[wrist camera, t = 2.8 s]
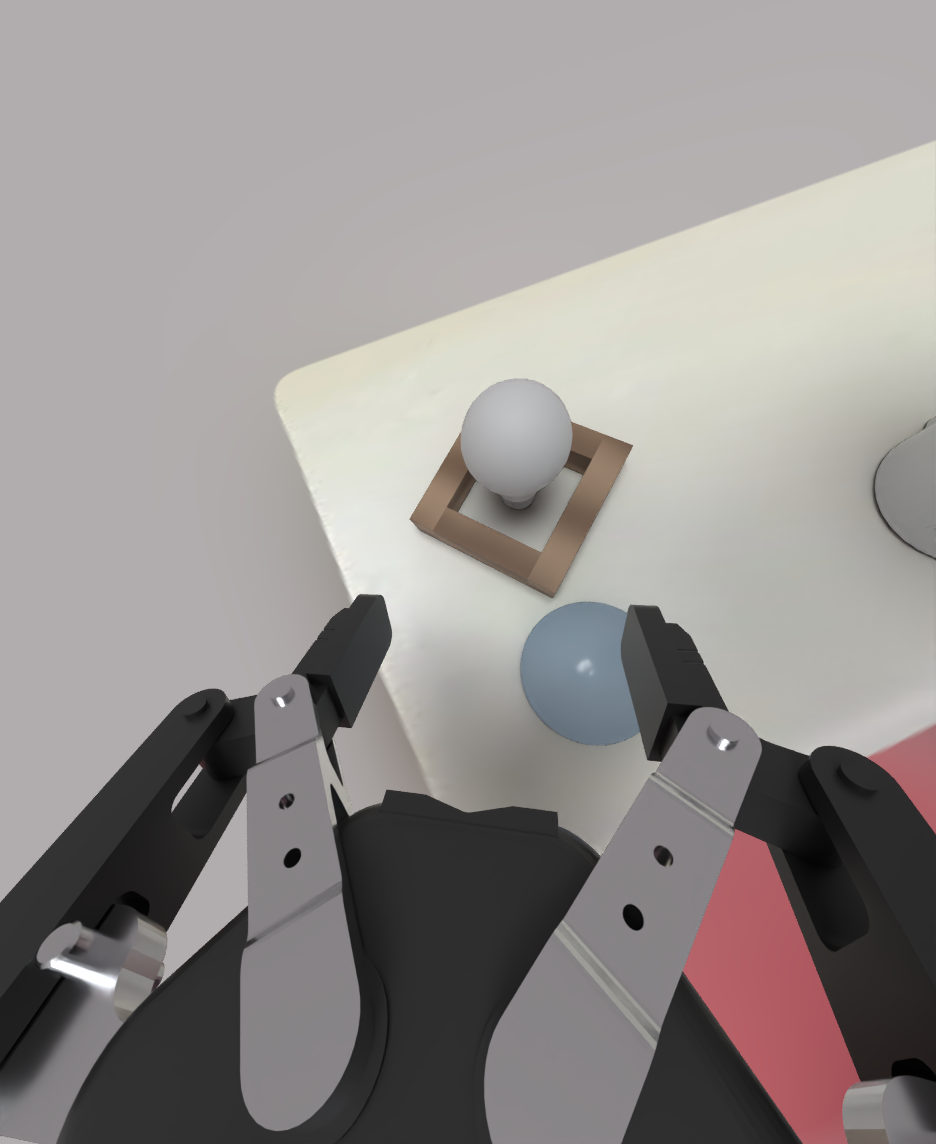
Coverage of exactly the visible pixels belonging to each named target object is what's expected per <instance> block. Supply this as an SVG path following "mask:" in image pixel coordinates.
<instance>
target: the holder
mask: <svg viewBox="0 0 936 1144" xmlns="http://www.w3.org/2000/svg"><path fill="white" fill-rule="evenodd" d="M571 426H572V434H573V436H572V445H571V450H570V453H569V456H568V459H567V462H566V463H565V465H564V467H567V468H569V469H572V470H574V471H576V472H579V473H581V474H584V475H583V477H582V479H581V481H580V483H579V485H578V486H577V488H576V490H575V492H574V494H573V496H572V498H571V499H570V501H569V503H568V505H567V507H566V509H565V511H564V512H563V514H562V516H561V518H560V520H559V522H558V524H557V525H556V527H555V529H554V531H553V533H552V535H551V537H550V538H549V540H548V542H547V544H546V546H545V548H544V550H543V551H542V553H541V552H539V551H537V550H535V549H532V548H530V547H528V546H526V545H524V544H522V543H520V542H518V541H516V540H514V539H512V538H510V537H508V536H506V535H504V534H501V533H499V532H497V531H495V530H493V529H491V528H489V527H487V526H485V525H483V524H481V523H479V522H477V521H475V520H473V519H470V518H468V517H466V516H464V515H462V514H460V513H458V510H459V509H460V507H461V505H462V503H463V502H464V500H465V498H466V496H467V495H468V493H469V491H470V489H471V488H472V486H473V484H474V482H475V481H476V479H475V478H474V477H473V476H472V474H471V473H470V472H469V470H468V468H467V466H466V464H465V462H464V458H463V455H462V451H461V433H460V434H459V436H458V438H457V439H456V441H455V443H454V445H453V446H452V448H451V450H450V451H449V453H448V455H447V456H446V458H445V460H444V462H443V463H442V465H441V467H440V468H439V470H438V472H437V473H436V475H435V477H434V479H433V480H432V482H431V484H430V485H429V487H428V489H427V490H426V492H425V494H424V495H423V497H422V499H421V501H420V502H419V504H418V506H417V507H416V509H415V511H414V512H413V514H412V516H411V518H410V520H411V521H412V522H413V523H414V524H415V526H416V527H417V528H418V529H419V530H420V531H422V532H424V533H426V534H428V535H430V536H432V537H434V538H436V539H438V540H440V541H442V542H444V543H446V544H448V545H450V546H452V547H454V548H456V549H457V550H459V551H461V552H463V553H465V554H467V555H469V556H471V557H473V558H475V559H477V560H479V561H481V562H483V563H485V564H487V565H489V566H491V567H493V568H495V569H496V570H498V571H500V572H502V573H504V574H506V575H508V576H510V577H512V578H514V579H516V580H518V581H520V582H522V583H524V584H526V585H528V586H530V587H532V588H534V589H535V590H537V591H539V592H541V593H543V594H545V595H547V596H549V597H551V598H553V597H554V595H555V593H556V591H557V590H558V588H559V586H560V584H561V582H562V580H563V578H564V576H565V574H566V573H567V571H568V569H569V567H570V565H571V563H572V561H573V559H574V557H575V555H576V554H577V552H578V550H579V548H580V546H581V544H582V542H583V540H584V538H585V536H586V535H587V533H588V531H589V529H590V527H591V525H592V523H593V521H594V519H595V517H596V516H597V514H598V512H599V510H600V508H601V506H602V504H603V502H604V500H605V498H606V497H607V495H608V493H609V491H610V489H611V487H612V485H613V483H614V481H615V479H616V478H617V476H618V474H619V472H620V470H621V468H622V466H623V464H624V462H625V460H626V458H627V457H628V455H629V453H630V451H631V449H632V447H633V445H631V444H628V443H625V442H623V441H620V440H617V439H615V438H612V437H610V436H607V435H604V434H602V433H599V432H596V431H594V430H591V429H589V428H586V427H583V426H581V425H578V424H575V423H573V422H571Z"/></svg>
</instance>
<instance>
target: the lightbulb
mask: <svg viewBox="0 0 936 1144" xmlns="http://www.w3.org/2000/svg"><path fill="white" fill-rule="evenodd" d="M572 436H573V434H572V426H571V420H570V417H569V414H568V411H567V409H566V407H565V405H564V404H563V402H562V400H561V399H560V397H559V396H558V395H557V394H555V393H554V392H553V391H552V390H551V389H549V388H548V387H546V386H545V385H543V384H541V383H539V382H536V381H534V380H528V379H510V380H505V381H502V382H499V383H496V384H494V385H493V386H491V387H489V388H488V389H486V390H485V391H484V392H482V393H481V394H480V395H479V396H478V398H477V399H476V400H475V401H474V402H473V403H472V405H471V406H470V408H469V409H468V411H467V413H466V416H465V419H464V422H463V425H462V431H461V451H462V455H463V458H464V462H465V464H466V466H467V468H468V470H469V472H470V473H471V474H472V476H473V477H474V478H475V479H476V480H477V481H478V482H479V483H480V484H481V485H482V486H484V487H485V488H486V489H488V490H490V491H492V492H494V493H497V494H500V495H501V496H502V498H503V501H504V503H505V504H506V505H507V506H509V507H511V508H513V509H523V508H526V507H528V506H529V505H530V504H531V503H532V502H533V500H534V498H535V495H536V493H537V491H538V490H540V489H542V488H544V487H545V486H547V485H548V484H549V483H550V482H552V481H553V480H554V478H555V477H556V476H557V475H558V474H559V473H560V471H561V470H562V468H563V467H564V465H565V463H566V462H567V459H568V456H569V453H570V450H571V445H572Z"/></svg>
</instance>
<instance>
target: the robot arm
mask: <svg viewBox="0 0 936 1144" xmlns="http://www.w3.org/2000/svg"><path fill="white" fill-rule="evenodd" d="M875 493H876V500H877V503H878V505H879V508H880V511H881V513H882V515H883V516H884V518H885V519H886V521H887V522H888V524H889V525H890V527H891V528H892V529H893V530H894V531H895V532H896V533H897V534H898V535H899V536H900V537H901V538H902V539H903V540H905V541H906V542H908V543H909V544H910V545H912V546H913V547H915V548H916V549H918V550H920V551H922V552H924V553H926V554H928V555H930V556H932V557H934V558H936V417H934V418H932V419H931V420H929V421H928V423H927V425H926V428H925V429H924V430H922V431H921V432H919V433H917V434H915V435H913V436H912V437H910V438H908V439H906V440H904V441H903V442H901V443H900V444H899V445H897V446H896V447H895V448H893V449H892V450H891V451H890V452H889V453H888V454H887V456H886V457H885V458H884V459H883V460H882V462H881V465H880V467H879V469H878V471H877V474H876V481H875ZM391 638H392V629H391V625H390V621H389V617H388V613H387V609H386V605H385V601H384V598H383V596H382V595H368V594H360V595H358V596H357V597H356V599H355V600H354V602H353V603H352V605H351V606H350V608H344V609H343V610H341V611H340V612H338V613H337V614H336V615H335V616H333V617H332V618H331V619H330V621H329V622H328V624H327V625H326V626H325V628H324V631H322V632H321V633H320V635H319V636H318V638H317V640H316V641H315V642H314V643H313V645H312V646H311V647H310V649H309V650H308V652H307V653H306V654H305V656H304V657H303V659H302V660H301V662H300V663H299V664H298V666H297V667H296V668H295V670H294V671H293V673H292V674H290V675H285V676H282V677H279V678H277V679H275V680H273V681H271V682H270V683H269V684H267V685H266V686H265V687H264V688H263V689H262V690H261V691H260V692H259V693H258V695H254V696H249V697H244V698H239V699H234V700H229V699H228V698H227V696H226V695H225V693H224V692H223V691H222V690H219V689H206V690H203V691H200V692H197V693H195V694H193V695H191V696H189V697H188V698H186V699H184V700H183V701H182V702H180V703H179V704H178V705H177V706H176V707H175V708H174V709H173V710H172V711H171V712H170V713H169V714H168V716H167V717H166V718H165V719H164V720H163V721H162V722H161V724H160V725H159V726H158V727H157V728H156V729H155V730H154V731H153V732H152V734H151V735H150V736H149V737H148V738H147V739H146V740H145V741H144V742H143V744H142V745H141V746H140V747H139V748H138V749H137V750H136V751H135V753H134V754H133V755H132V756H131V757H130V758H129V759H128V760H127V761H126V763H125V764H124V765H123V766H122V767H121V768H120V769H119V771H118V772H117V773H116V774H115V775H114V776H113V777H112V778H111V780H110V781H109V782H108V783H107V784H106V785H105V786H104V787H103V788H102V790H100V792H99V793H98V794H97V795H96V796H95V797H94V798H93V800H92V801H91V802H90V803H89V804H88V805H87V806H86V807H85V809H84V810H83V811H82V812H81V813H80V814H79V815H78V816H77V817H76V819H75V820H74V821H73V822H72V823H71V824H70V825H69V826H68V827H67V829H66V830H65V831H64V832H63V833H62V834H61V835H60V836H59V837H58V839H57V840H56V841H55V842H54V843H53V844H52V845H51V847H50V848H49V849H48V850H47V851H46V852H45V853H44V854H43V855H42V857H41V858H40V859H39V860H38V861H37V862H36V863H35V864H34V865H33V867H32V868H31V869H30V870H29V871H28V872H27V873H26V874H25V876H24V877H23V878H22V879H21V880H20V881H19V882H18V883H17V884H16V886H15V887H14V888H13V889H12V890H11V891H10V892H9V893H8V894H7V896H6V897H5V898H4V899H3V900H2V901H1V903H0V1136H5V1137H10V1138H15V1139H19V1140H24V1141H29V1142H34V1143H39V1144H803V1143H802V1142H801V1140H800V1139H799V1138H798V1136H797V1135H796V1133H795V1132H794V1130H793V1129H792V1127H791V1126H790V1125H789V1123H788V1122H787V1120H786V1119H785V1117H784V1116H783V1114H782V1113H781V1112H780V1110H779V1109H778V1107H777V1106H776V1105H775V1103H774V1102H773V1100H772V1099H771V1097H770V1096H769V1094H768V1093H767V1092H766V1090H765V1089H764V1088H763V1086H762V1084H761V1083H760V1082H759V1080H758V1079H757V1077H756V1076H755V1074H754V1073H753V1072H752V1070H751V1069H750V1067H749V1066H748V1064H747V1063H746V1061H745V1060H744V1059H743V1057H742V1056H741V1055H740V1053H739V1051H738V1050H737V1049H736V1047H735V1046H734V1044H733V1043H732V1041H731V1040H730V1039H729V1037H728V1036H727V1034H726V1033H725V1031H724V1030H723V1029H722V1027H721V1026H720V1025H719V1023H718V1021H717V1020H716V1018H715V1017H714V1016H713V1014H712V1013H711V1011H710V1010H709V1008H708V1007H707V1006H706V1004H705V1003H704V1002H703V1000H702V998H701V997H700V996H699V994H698V993H697V991H696V990H695V989H694V987H693V986H692V984H691V983H690V981H689V980H688V979H687V977H686V975H685V974H684V973H683V968H684V966H685V963H686V960H687V958H688V955H689V953H690V950H691V947H692V945H693V942H694V940H695V937H696V934H697V931H698V929H699V927H700V924H701V921H702V919H703V916H704V913H705V911H706V908H707V905H708V903H709V900H710V898H711V895H712V892H713V890H714V887H715V885H716V882H717V879H718V877H719V874H720V871H721V869H722V866H723V863H724V861H725V858H726V856H727V853H728V850H729V848H730V845H731V842H732V839H733V836H734V832H735V829H737V830H740V831H742V832H744V833H746V834H749V835H751V836H753V837H756V838H758V839H760V840H762V841H765V842H766V843H767V845H768V848H769V850H770V853H771V855H772V858H773V860H774V863H775V866H776V868H777V870H778V873H779V875H780V878H781V881H782V883H783V886H784V888H785V891H786V893H787V896H788V899H789V901H790V904H791V906H792V909H793V911H794V914H795V916H796V919H797V921H798V924H799V926H800V929H801V931H802V934H803V937H804V939H805V941H806V944H807V946H808V949H809V952H810V954H811V956H812V959H813V962H814V964H815V967H816V970H817V972H818V974H819V977H820V979H821V982H822V985H823V987H824V990H825V992H826V995H827V997H828V1000H829V1002H830V1005H831V1008H832V1010H833V1013H834V1015H835V1018H836V1020H837V1023H838V1025H839V1028H840V1030H841V1033H842V1035H843V1038H844V1040H845V1043H846V1046H847V1048H848V1051H849V1053H850V1056H851V1058H852V1060H853V1063H854V1066H855V1068H856V1071H857V1073H858V1076H859V1079H860V1081H861V1082H858V1083H856V1084H854V1085H852V1086H851V1087H850V1088H849V1089H848V1091H847V1093H846V1095H845V1097H844V1102H843V1123H844V1130H845V1134H846V1137H847V1142H848V1144H936V834H935V833H934V831H933V830H932V829H931V827H930V826H929V825H928V823H927V822H926V821H925V819H924V818H923V816H922V815H921V814H920V812H919V811H918V810H917V808H916V807H915V806H914V804H913V803H912V801H911V800H910V799H909V797H908V796H907V795H906V793H905V792H904V791H903V789H902V788H901V787H900V785H899V784H898V783H897V782H896V780H895V779H894V778H893V777H891V775H890V774H889V773H887V772H886V771H885V770H884V769H883V768H881V767H880V766H878V765H877V764H876V763H874V762H873V761H871V760H869V759H868V758H866V757H864V756H862V755H860V754H858V753H856V752H853V751H851V750H848V749H845V748H841V747H836V746H822V747H819V748H817V749H815V750H814V751H813V752H812V754H811V755H810V756H808V755H805V754H802V753H799V752H796V751H793V750H790V749H787V748H784V747H781V746H778V745H775V744H772V743H770V742H767V741H765V740H762V739H760V738H758V736H757V734H756V733H755V731H754V730H753V729H752V728H751V727H750V726H749V725H748V724H747V723H746V722H745V721H743V720H742V719H741V718H739V717H738V716H736V715H734V714H732V713H730V712H729V711H728V709H727V707H726V705H725V703H724V701H723V699H722V697H721V695H720V693H719V691H718V689H717V688H716V686H715V684H714V682H713V680H712V678H711V676H710V674H709V672H708V670H707V668H706V666H705V665H704V664H703V660H702V658H701V656H700V654H699V653H698V652H697V651H698V650H697V648H696V646H695V644H694V642H693V640H692V638H691V636H690V635H689V634H688V633H686V632H685V631H684V630H683V629H682V628H681V627H680V626H679V625H678V624H674V623H665V620H664V618H663V616H662V614H661V611H660V609H659V607H658V606H646V605H630V606H629V608H628V612H627V617H626V622H625V626H624V631H623V636H622V640H621V660H622V664H623V668H624V672H625V676H626V679H627V683H628V687H629V691H630V695H631V699H632V703H633V706H634V710H635V714H636V718H637V722H638V726H639V729H640V733H641V737H642V741H643V745H644V749H645V753H646V756H647V760H649V761H659V762H661V764H660V766H659V767H658V769H657V771H656V772H655V773H652V774H651V776H650V777H649V779H648V780H647V782H646V783H645V785H644V787H643V788H642V790H641V792H640V793H639V795H638V797H637V798H636V800H635V802H634V803H633V805H632V807H631V808H630V810H629V811H628V813H627V815H626V816H625V818H624V820H623V821H622V823H621V825H620V826H619V828H618V830H617V831H616V833H615V835H614V836H613V838H612V840H611V841H610V843H609V845H608V846H607V848H606V850H605V851H604V853H603V854H602V856H600V855H599V854H598V853H597V852H596V851H595V850H594V849H593V848H591V847H590V846H589V845H588V844H587V843H586V842H584V841H583V840H582V839H580V838H579V837H578V836H576V835H574V834H573V833H571V832H569V831H568V830H566V829H564V828H561V827H559V826H558V814H557V812H552V811H545V810H537V809H530V808H522V807H515V806H511V807H505V808H498V809H492V810H485V811H479V812H472V813H467V812H463V811H461V810H458V809H456V808H454V807H452V806H450V805H447V804H445V803H443V802H441V801H439V800H436V799H434V798H432V797H430V796H427V795H423V794H416V793H408V792H401V791H393V790H386V793H385V796H384V799H383V802H382V803H379V804H376V805H372V806H369V807H366V808H364V809H362V810H359V811H358V812H356V813H354V810H353V807H352V804H351V801H350V799H349V795H348V792H347V788H346V784H345V780H344V776H343V772H342V767H341V763H340V760H339V755H338V751H337V747H336V743H335V740H334V737H333V736H334V734H335V732H336V730H337V728H338V727H346V728H352V726H353V724H354V722H355V720H356V717H357V715H358V713H359V711H360V709H361V707H362V705H363V702H364V700H365V698H366V696H367V694H368V692H369V689H370V687H371V685H372V683H373V681H374V679H375V677H376V674H377V672H378V670H379V668H380V666H381V664H382V662H383V659H384V657H385V655H386V653H387V651H388V649H389V646H390V644H391ZM199 764H200V765H201V767H202V768H203V769H202V770H201V772H200V773H199V775H198V776H197V778H196V779H195V780H194V782H193V783H192V785H191V786H190V787H189V789H188V790H187V792H186V793H185V794H184V796H183V797H182V799H181V800H180V802H179V803H178V804H177V806H176V807H175V809H174V810H173V812H172V813H171V809H172V804H173V802H174V799H175V797H176V796H177V794H178V793H179V791H180V790H181V789H182V787H183V786H184V784H185V783H186V782H187V780H188V779H189V777H190V776H191V775H192V773H193V772H194V771H195V769H196V768H197V766H198V765H199ZM246 792H247V853H248V854H247V855H248V906H247V907H246V908H245V909H244V910H243V911H241V912H240V913H239V914H238V915H237V916H236V917H235V918H234V919H232V920H231V921H230V922H229V923H228V924H227V925H226V926H225V927H224V928H223V929H221V930H220V931H219V932H218V933H217V934H216V935H215V936H214V937H213V938H212V939H211V940H209V941H208V942H207V943H206V944H205V945H204V946H203V947H202V948H200V949H199V950H198V951H197V952H196V953H195V954H194V955H193V956H192V957H191V958H189V959H188V960H187V961H186V962H185V963H184V964H183V965H182V966H181V967H180V968H178V969H177V970H176V971H175V972H174V973H173V974H172V975H171V976H170V977H169V978H167V979H166V980H165V981H164V982H163V983H162V984H161V985H160V986H159V987H158V985H159V984H160V982H161V980H162V977H163V975H164V970H165V967H164V963H163V960H164V957H165V954H166V949H167V933H166V932H167V930H168V929H169V927H170V925H171V923H172V922H173V920H174V918H175V916H176V915H177V913H178V911H179V909H180V908H181V906H182V904H183V902H184V901H185V899H186V897H187V895H188V894H189V892H190V890H191V888H192V887H193V885H194V883H195V882H196V880H197V878H198V876H199V875H200V873H201V871H202V869H203V867H204V866H205V864H206V862H207V861H208V859H209V857H210V855H211V854H212V851H213V850H214V848H215V847H216V845H217V843H218V841H219V840H220V838H221V836H222V834H223V833H224V831H225V829H226V827H227V826H228V824H229V822H230V820H231V818H232V817H233V815H234V813H235V811H236V810H237V808H238V806H239V805H240V803H241V801H242V799H243V797H244V796H245V794H246ZM734 828H735V829H734Z"/></svg>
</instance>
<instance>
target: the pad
mask: <svg viewBox="0 0 936 1144" xmlns="http://www.w3.org/2000/svg"><path fill="white" fill-rule="evenodd" d="M626 617H627V613H626V612H624V611H622V610H620V609H618V608H615V607H613V606H610V605H606V604H602V603H596V602H579V603H573V604H568V605H565V606H563V607H560V608H558V609H556V610H554V611H552V612H551V613H549V614H548V615H546V616H545V617H544V618H543V619H542V620H541V621H540V622H538V624H537V625H536V626H535V627H534V629H533V630H532V632H531V633H530V635H529V636H528V639H527V641H526V643H525V646H524V649H523V652H522V658H521V678H522V683H523V688H524V691H525V694H526V696H527V699H528V701H529V703H530V705H531V707H532V708H533V709H534V711H535V712H536V714H537V715H538V716H539V717H540V719H541V720H542V721H543V722H544V723H545V724H546V725H547V726H549V727H550V728H551V729H552V730H554V731H555V732H557V733H558V734H560V735H561V736H563V737H565V738H567V739H570V740H572V741H575V742H578V743H582V744H587V745H609V744H615V743H618V742H622V741H625V740H627V739H629V738H631V737H633V736H634V735H636V734H637V733H639V732H640V729H639V726H638V722H637V718H636V714H635V710H634V706H633V703H632V699H631V695H630V691H629V687H628V683H627V679H626V676H625V672H624V668H623V664H622V660H621V640H622V636H623V631H624V626H625V622H626Z"/></svg>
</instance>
